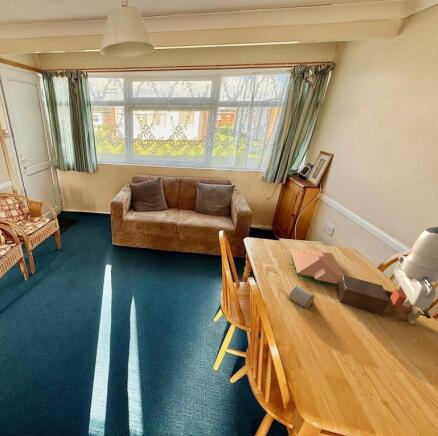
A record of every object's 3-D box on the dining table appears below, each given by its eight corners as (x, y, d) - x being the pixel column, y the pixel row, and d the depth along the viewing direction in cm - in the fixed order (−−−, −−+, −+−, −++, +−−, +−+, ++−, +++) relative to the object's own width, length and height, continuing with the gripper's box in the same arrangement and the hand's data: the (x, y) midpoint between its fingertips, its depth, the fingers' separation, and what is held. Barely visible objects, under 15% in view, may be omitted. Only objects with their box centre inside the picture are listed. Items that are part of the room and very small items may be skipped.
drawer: (417, 312, 102) (426, 299, 99) (427, 329, 94) (437, 316, 91) (365, 297, 110) (372, 285, 107) (370, 312, 102) (378, 299, 99)
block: (406, 302, 86) (411, 292, 85) (410, 310, 83) (416, 300, 81) (390, 297, 89) (395, 288, 87) (393, 305, 85) (399, 296, 83)
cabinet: (373, 300, 110) (382, 285, 106) (380, 317, 101) (389, 301, 97) (336, 289, 117) (342, 274, 112) (338, 304, 108) (346, 288, 104)
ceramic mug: (305, 312, 104) (310, 299, 100) (286, 301, 110) (291, 288, 106) (315, 302, 109) (320, 289, 106) (296, 292, 115) (301, 280, 112)
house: (296, 281, 123) (300, 268, 119) (288, 250, 150) (291, 239, 147) (348, 292, 115) (354, 279, 111) (329, 257, 142) (334, 246, 139)
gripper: (449, 291, 70) (426, 323, 75) (421, 258, 86) (404, 287, 91) (420, 284, 73) (400, 316, 78) (398, 253, 89) (383, 281, 94)
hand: (402, 300), depth 85 cm, fingers closed on block, 4 cm apart
